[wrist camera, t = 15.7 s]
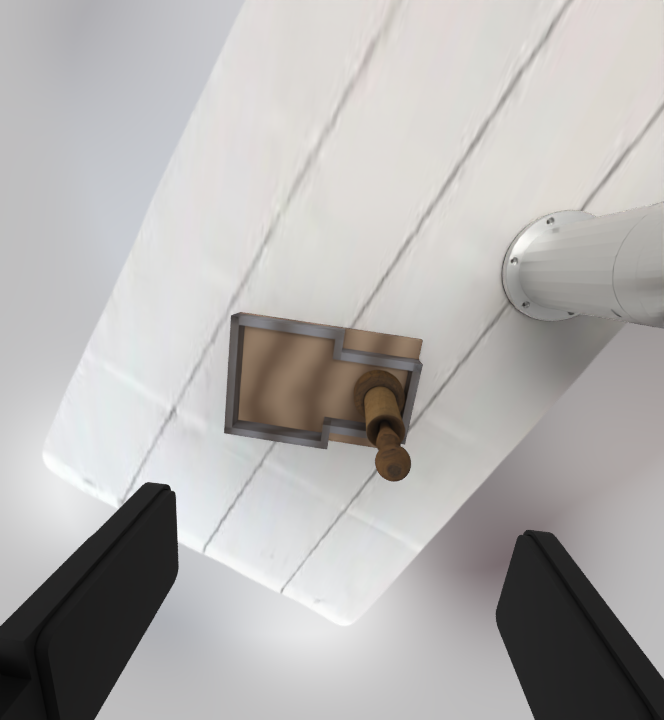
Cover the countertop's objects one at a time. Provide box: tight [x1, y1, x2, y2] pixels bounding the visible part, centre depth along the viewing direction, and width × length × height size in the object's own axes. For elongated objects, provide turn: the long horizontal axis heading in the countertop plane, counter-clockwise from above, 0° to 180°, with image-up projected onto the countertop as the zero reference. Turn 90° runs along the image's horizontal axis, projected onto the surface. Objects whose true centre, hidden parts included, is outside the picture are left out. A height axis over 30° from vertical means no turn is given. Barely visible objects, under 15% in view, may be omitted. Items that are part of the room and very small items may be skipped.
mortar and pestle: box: [354, 370, 411, 481], centre depth 35 cm, size 7×6×18 cm
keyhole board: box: [224, 312, 423, 449], centre depth 44 cm, size 24×16×4 cm, turn 82°
